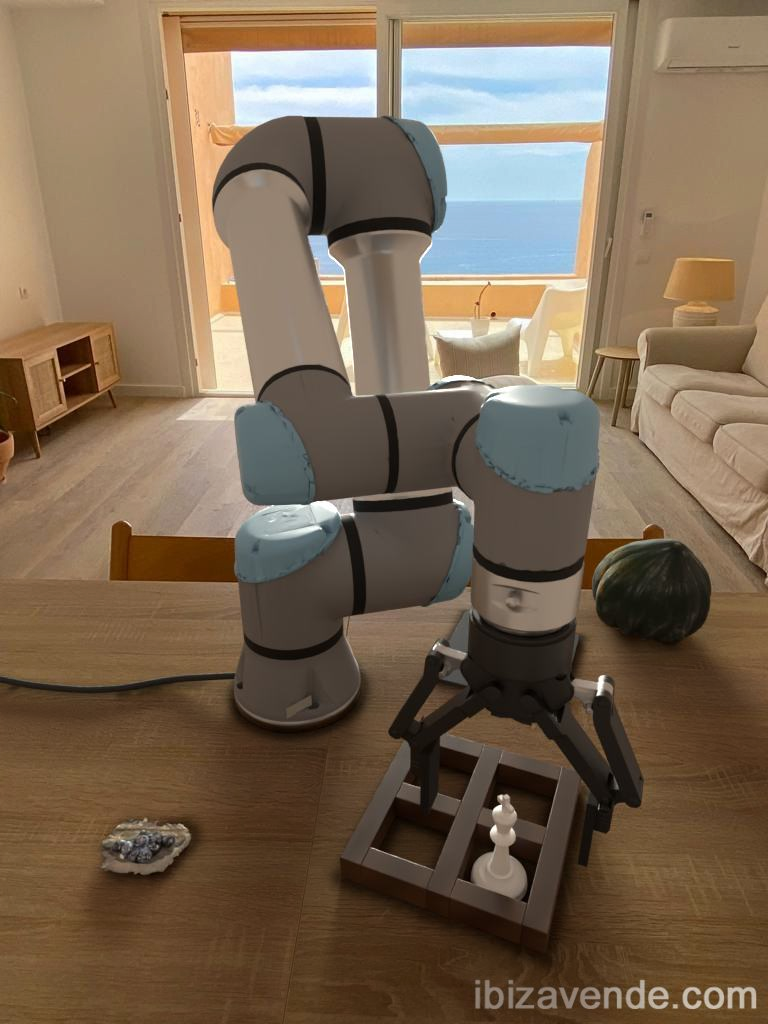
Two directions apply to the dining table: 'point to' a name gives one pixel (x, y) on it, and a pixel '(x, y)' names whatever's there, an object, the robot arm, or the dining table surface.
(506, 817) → the chess piece
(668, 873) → the dining table surface
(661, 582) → the squash
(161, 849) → the blueberries
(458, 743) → the holder
